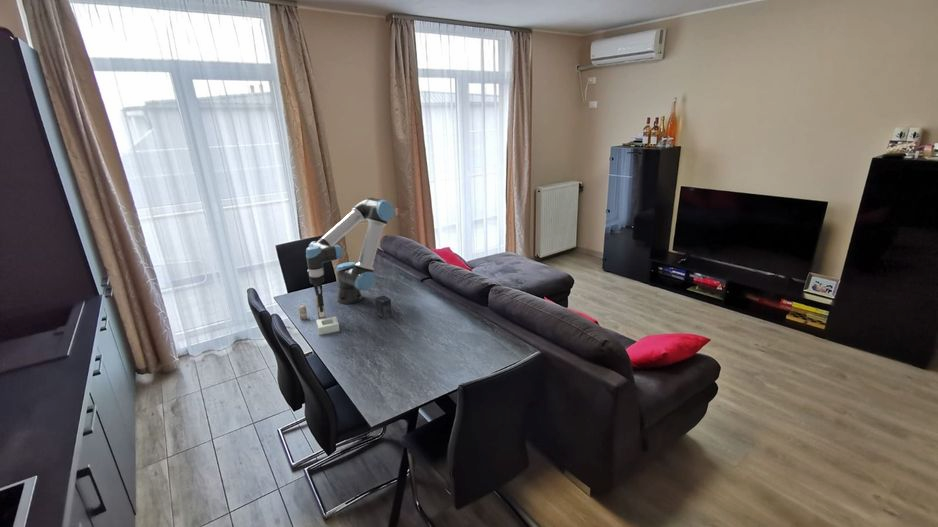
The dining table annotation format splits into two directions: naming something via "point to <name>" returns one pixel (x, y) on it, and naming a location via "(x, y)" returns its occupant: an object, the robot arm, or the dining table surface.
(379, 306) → the box
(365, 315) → the dining table surface
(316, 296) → the long pin
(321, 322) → the hole block
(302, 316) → the short pin
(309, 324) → the dining table surface
